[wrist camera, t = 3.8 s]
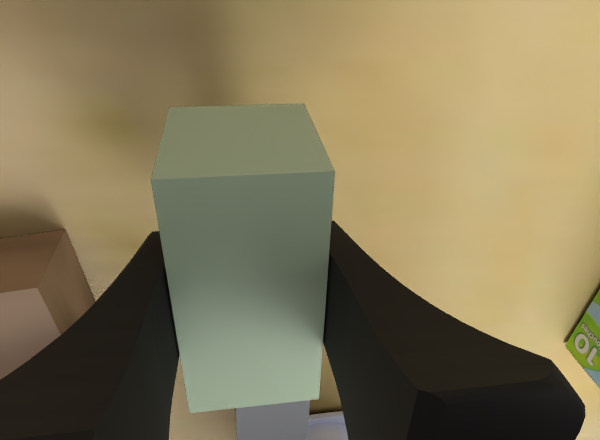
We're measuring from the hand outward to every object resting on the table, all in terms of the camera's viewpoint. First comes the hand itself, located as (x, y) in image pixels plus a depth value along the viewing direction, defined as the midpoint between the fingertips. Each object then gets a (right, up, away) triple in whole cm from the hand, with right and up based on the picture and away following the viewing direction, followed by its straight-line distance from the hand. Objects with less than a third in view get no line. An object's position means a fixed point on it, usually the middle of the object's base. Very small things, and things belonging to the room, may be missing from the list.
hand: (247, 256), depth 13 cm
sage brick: (0, +1, +2) cm, 2 cm away
